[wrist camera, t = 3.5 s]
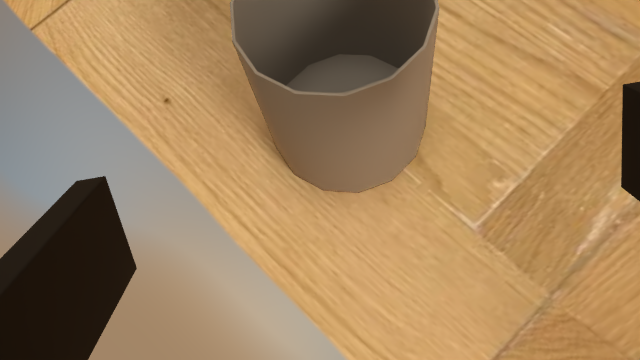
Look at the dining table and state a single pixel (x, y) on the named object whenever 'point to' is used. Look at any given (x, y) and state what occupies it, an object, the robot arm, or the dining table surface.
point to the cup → (340, 83)
